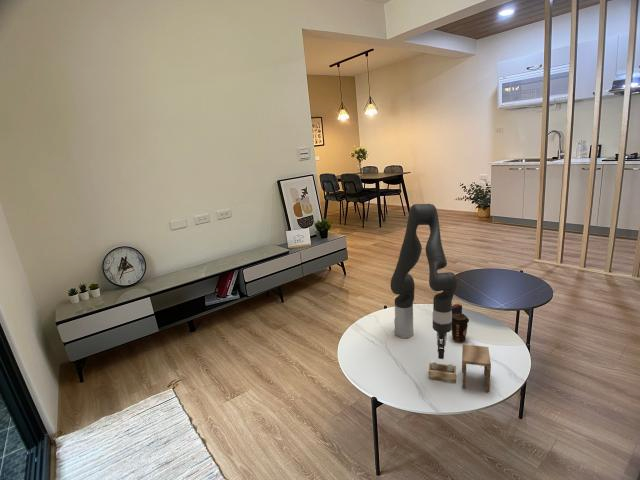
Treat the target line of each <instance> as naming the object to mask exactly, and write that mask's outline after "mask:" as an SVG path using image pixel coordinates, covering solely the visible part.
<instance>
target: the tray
mask: <svg viewBox="0 0 640 480" xmlns="http://www.w3.org/2000/svg"><path fill="white" fill-rule="evenodd" d="M428 363H429V364H428V379H429V380H435V381H441V382H448V383H449V382H450V383H453V384H454V383H457V365H453V364H445V363H439V362H430V361H429V362H428Z"/></svg>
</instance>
